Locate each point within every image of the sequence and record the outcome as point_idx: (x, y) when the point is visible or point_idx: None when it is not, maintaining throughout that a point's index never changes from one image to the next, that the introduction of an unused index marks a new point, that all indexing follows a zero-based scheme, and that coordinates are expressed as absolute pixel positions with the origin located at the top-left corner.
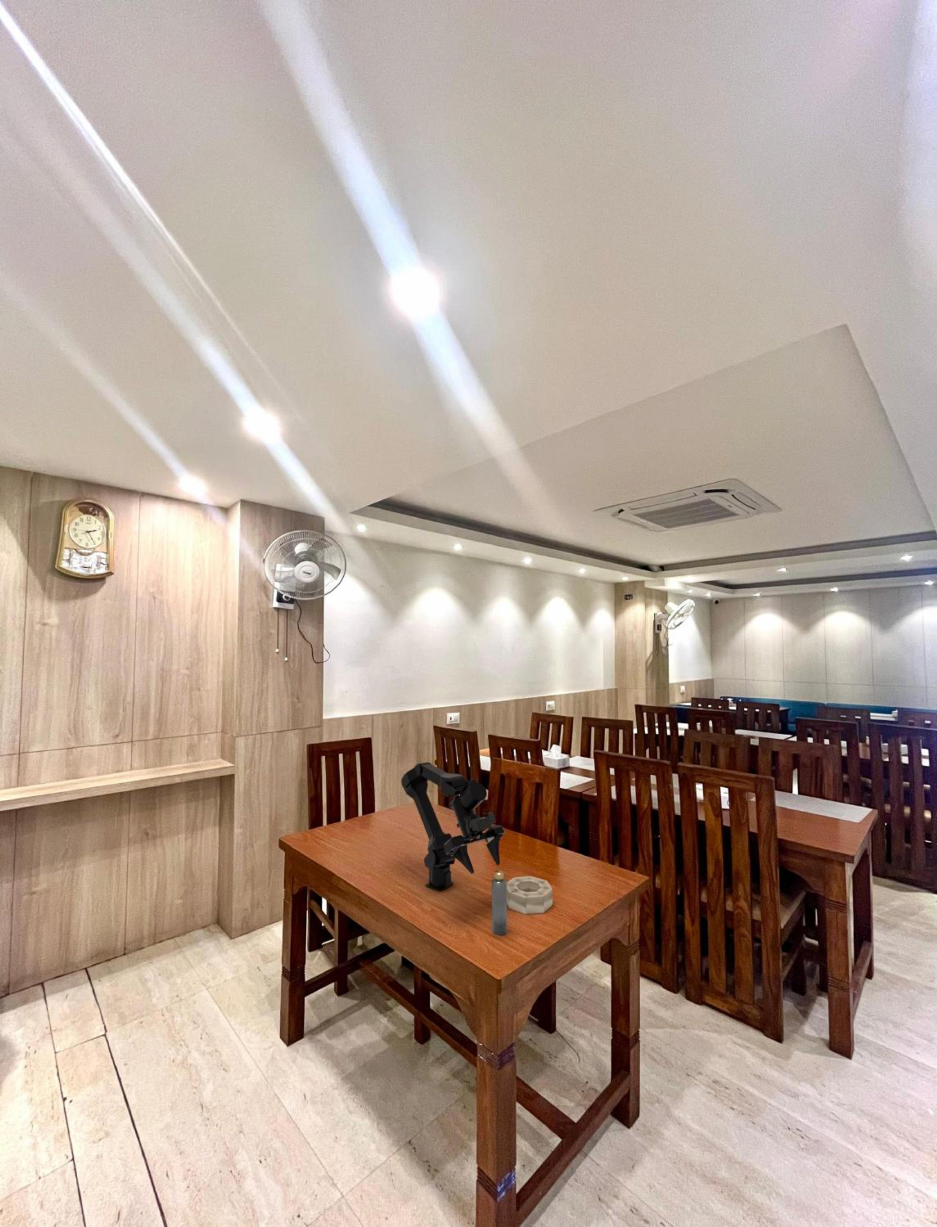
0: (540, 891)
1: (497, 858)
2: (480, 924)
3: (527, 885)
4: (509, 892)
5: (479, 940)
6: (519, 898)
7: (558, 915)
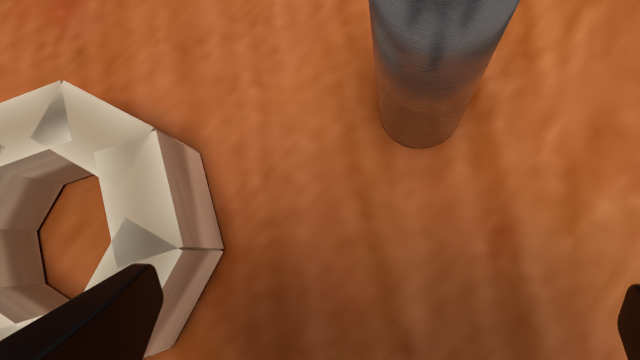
0: (33, 134)
1: (104, 304)
2: (462, 230)
3: (5, 295)
4: (182, 251)
5: (565, 107)
6: (175, 176)
7: (91, 58)
